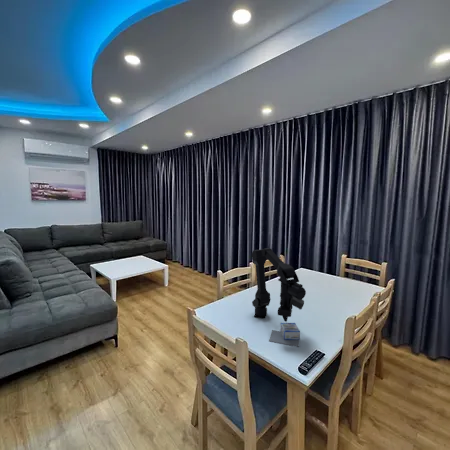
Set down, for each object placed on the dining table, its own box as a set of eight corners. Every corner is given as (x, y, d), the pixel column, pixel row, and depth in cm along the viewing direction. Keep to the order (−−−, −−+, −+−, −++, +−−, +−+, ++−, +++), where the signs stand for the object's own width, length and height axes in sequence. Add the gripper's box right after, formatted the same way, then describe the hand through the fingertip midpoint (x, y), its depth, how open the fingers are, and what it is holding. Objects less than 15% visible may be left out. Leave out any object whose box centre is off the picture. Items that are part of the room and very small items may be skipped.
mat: (269, 341, 118) (269, 340, 118) (272, 330, 127) (272, 329, 127) (298, 347, 113) (298, 346, 113) (299, 335, 123) (299, 334, 123)
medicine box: (295, 322, 126) (300, 331, 118) (295, 330, 127) (300, 340, 118) (280, 322, 126) (284, 331, 118) (280, 330, 127) (284, 340, 118)
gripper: (302, 301, 109) (301, 334, 111) (303, 287, 127) (302, 315, 128) (277, 298, 113) (277, 329, 115) (282, 284, 130) (281, 311, 132)
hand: (285, 321), depth 122 cm, fingers closed
